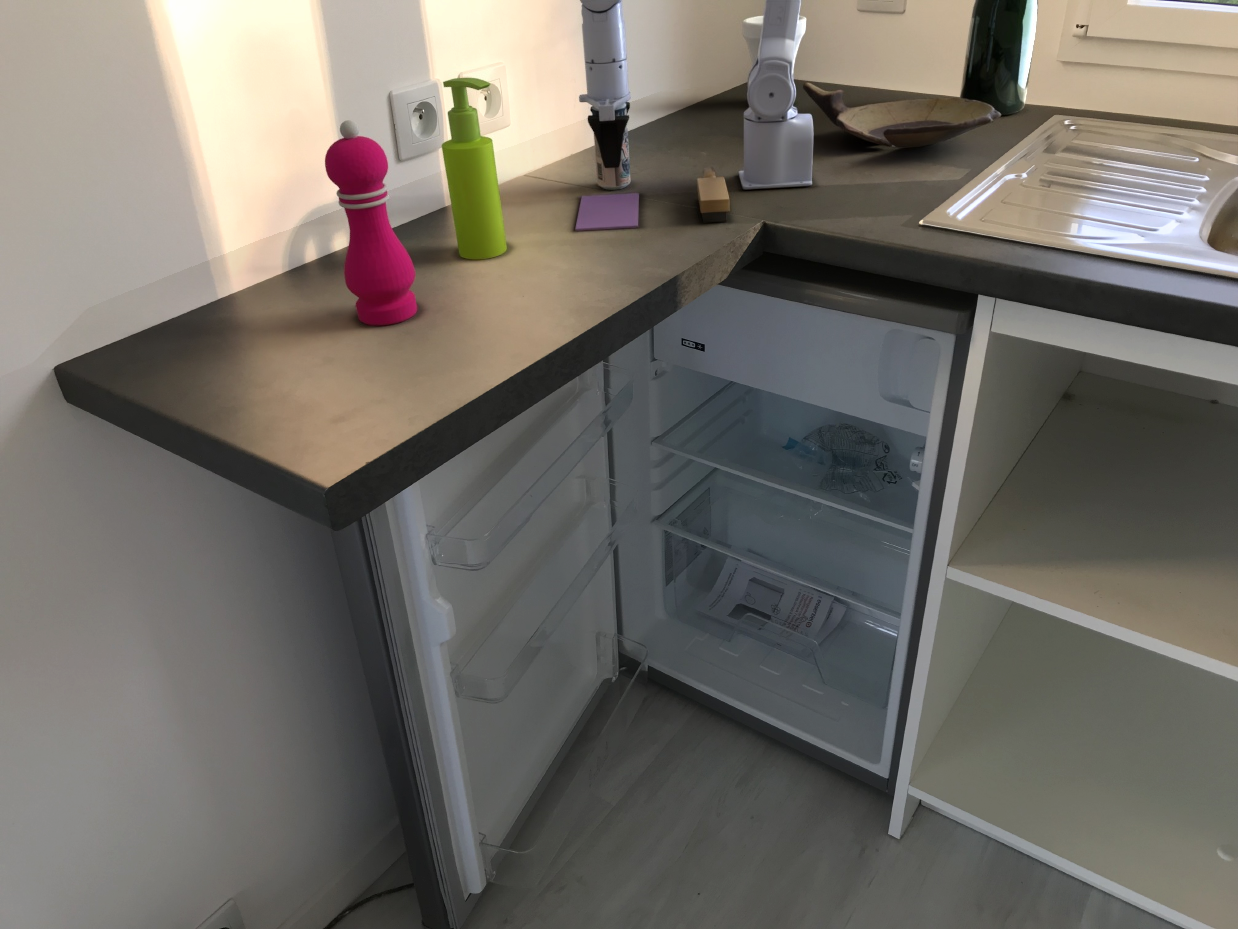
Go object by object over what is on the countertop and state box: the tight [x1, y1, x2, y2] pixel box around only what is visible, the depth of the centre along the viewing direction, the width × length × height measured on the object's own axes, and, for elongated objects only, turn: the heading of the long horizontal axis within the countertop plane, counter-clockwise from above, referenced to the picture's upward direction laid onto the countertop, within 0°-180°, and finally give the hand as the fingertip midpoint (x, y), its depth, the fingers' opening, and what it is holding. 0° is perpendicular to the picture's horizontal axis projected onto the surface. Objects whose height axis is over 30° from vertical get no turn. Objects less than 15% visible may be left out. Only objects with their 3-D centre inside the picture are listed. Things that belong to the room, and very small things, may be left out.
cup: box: [741, 14, 807, 74], centre depth 170 cm, size 11×11×14 cm
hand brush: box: [696, 165, 730, 224], centre depth 125 cm, size 4×16×3 cm, turn 178°
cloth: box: [575, 192, 640, 232], centre depth 125 cm, size 8×14×1 cm, turn 178°
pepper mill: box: [324, 119, 418, 326], centre depth 95 cm, size 7×7×20 cm
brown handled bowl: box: [802, 82, 1002, 148], centre depth 144 cm, size 22×30×8 cm
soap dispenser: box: [441, 77, 508, 261], centre depth 110 cm, size 6×7×20 cm
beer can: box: [591, 103, 631, 191], centre depth 132 cm, size 5×5×12 cm
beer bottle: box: [959, 0, 1039, 116], centre depth 150 cm, size 10×10×33 cm
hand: (612, 162), depth 134 cm, fingers closed on beer can, 5 cm apart
